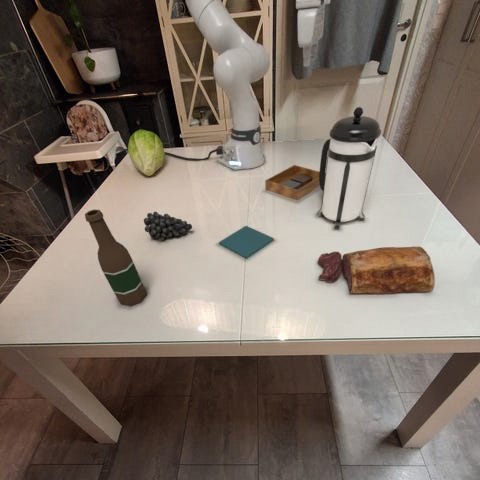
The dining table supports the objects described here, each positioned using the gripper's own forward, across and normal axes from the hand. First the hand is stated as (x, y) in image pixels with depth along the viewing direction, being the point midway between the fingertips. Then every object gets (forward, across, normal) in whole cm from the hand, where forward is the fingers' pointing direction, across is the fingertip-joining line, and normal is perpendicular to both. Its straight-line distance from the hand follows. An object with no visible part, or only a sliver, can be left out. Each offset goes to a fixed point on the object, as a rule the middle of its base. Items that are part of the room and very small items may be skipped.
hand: (309, 63), depth 91 cm
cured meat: (+36, +52, +27) cm, 69 cm away
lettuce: (+36, -3, -72) cm, 80 cm away
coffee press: (+36, +24, +16) cm, 46 cm away
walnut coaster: (+35, +3, 0) cm, 35 cm away
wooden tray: (+36, +6, -1) cm, 36 cm away
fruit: (+36, +47, -34) cm, 68 cm away
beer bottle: (+36, +76, -30) cm, 89 cm away
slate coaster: (+35, +9, -3) cm, 36 cm away
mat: (+36, +45, -8) cm, 58 cm away
